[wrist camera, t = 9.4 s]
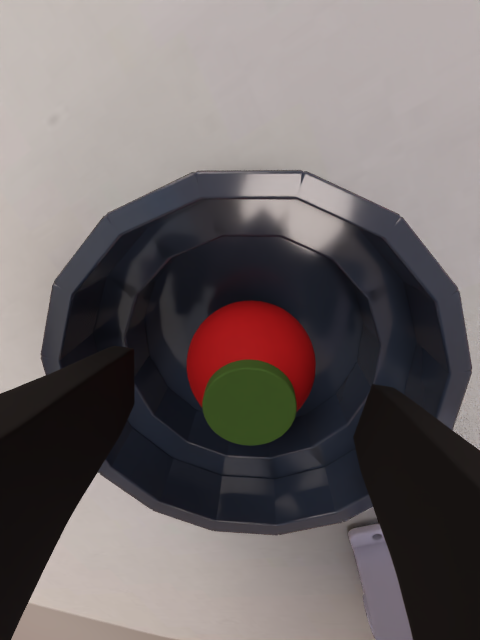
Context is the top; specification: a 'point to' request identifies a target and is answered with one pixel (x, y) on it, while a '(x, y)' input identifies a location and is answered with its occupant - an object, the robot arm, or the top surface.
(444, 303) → the bowl
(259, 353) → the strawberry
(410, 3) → the top surface
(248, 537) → the top surface
